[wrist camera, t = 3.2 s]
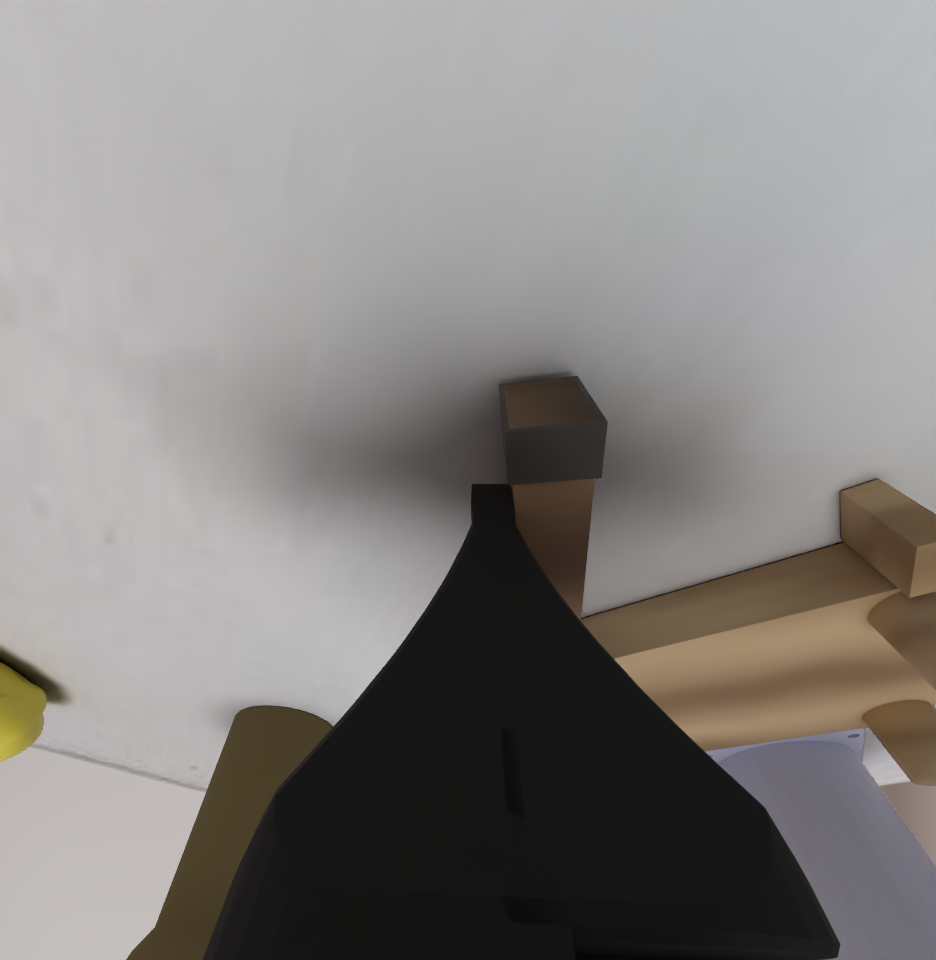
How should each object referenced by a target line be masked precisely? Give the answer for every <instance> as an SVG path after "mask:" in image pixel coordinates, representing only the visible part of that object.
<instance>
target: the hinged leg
mask: <svg viewBox="0 0 936 960" xmlns="http://www.w3.org/2000/svg"><path fill="white" fill-rule="evenodd" d="M499 392H500V404H501V417H502V430H503V440H504V450H505V459H506V469H507V479H508V486H510V485H511V489H512V493H513V499H514V522H515V524H516V526H517V528H518V530H519V532H520V533H521V535H522V537H523V539H524V540H525V542H526V544H527V546H528V547H529V549H530V551H531V552H532V554H533V556H534V557H535V559H536V560H537V562H538V563H539V565H540V566H541V568H542V569H543V571H544V572H545V574H546V575H547V577H548V578H549V580H550V581H551V583H552V584H553V585H554V587H555V588H556V590H557V591H558V592H559V594H560V595H561V596H562V598H563V599H564V600H565V602H566V603H567V604H568V605H569V607H570V608H571V609H572V611H573V612H574V613H575V615H576V616H577V617H578V618H579V619H580V621H581V613H582V602H583V592H584V581H585V571H586V560H587V550H588V540H589V529H590V519H591V508H592V498H593V487H594V479H595V478H601V476H602V467H603V458H604V449H605V440H606V430H607V420H606V419H605V417H604V416H603V414H602V413H601V411H600V410H599V408H598V407H597V405H596V404H595V402H594V401H593V399H592V398H591V396H590V395H589V393H588V392H587V390H586V388H585V387H584V385H583V384H582V382H581V381H580V379H579V378H578V376H571V377H562V378H553V379H544V380H535V381H526V382H517V383H508V384H499Z"/></svg>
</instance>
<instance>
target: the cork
mask: <svg viewBox="0 0 936 960" xmlns="http://www.w3.org/2000/svg"><path fill="white" fill-rule="evenodd" d="M332 728H333V727H332V726H331V725H330V724H329V723H328V722H327V721H325V720H323V719H321V718H319V717H317V716H315V715H312V714H310V713H307V712H304V711H301V710H296V709H291V708H286V707H276V706H258V707H250V708H247V709H244V710H241V711H240V712H239V713H238V714H237V715H236V716H235V718H234V721H233V723H232V726H231V729H230V731H229V734H228V737H227V739H226V742H225V744H224V747H223V750H222V752H221V755H220V758H219V760H218V763H217V765H216V768H215V771H214V773H213V776H212V779H211V781H210V784H209V787H208V789H207V792H206V795H205V797H204V800H203V803H202V805H201V808H200V810H199V813H198V816H197V818H196V821H195V823H194V826H193V829H192V831H191V834H190V837H189V839H188V842H187V844H186V847H185V850H184V852H183V855H182V858H181V861H180V863H179V865H178V868H177V871H176V873H175V876H174V879H173V881H172V884H171V887H170V889H169V892H168V895H167V897H166V900H165V902H164V905H163V908H162V910H161V913H160V915H159V918H158V921H157V923H156V926H155V928H154V929H153V930H152V931H151V932H150V933H149V934H148V935H147V936H146V937H145V938H144V939H143V940H142V941H141V942H140V943H139V944H138V946H136V948H135V949H134V950H133V951H132V952H131V954H130V955H129V956H128V958H127V959H126V960H203V957H204V955H205V952H206V949H207V947H208V944H209V941H210V939H211V936H212V933H213V931H214V928H215V926H216V923H217V920H218V918H219V915H220V912H221V910H222V907H223V904H224V902H225V899H226V896H227V894H228V891H229V888H230V886H231V883H232V880H233V878H234V876H235V873H236V871H237V868H238V866H239V864H240V862H241V860H242V858H243V856H244V854H245V852H246V849H247V847H248V845H249V843H250V841H251V839H252V836H253V834H254V832H255V830H256V828H257V826H258V824H259V822H260V820H261V818H262V816H263V814H264V812H265V810H266V808H267V807H268V805H269V803H270V801H271V799H272V797H273V795H274V794H275V792H276V790H277V789H278V788H279V786H280V785H281V784H282V783H283V782H284V781H285V779H286V778H287V777H288V776H289V775H290V774H291V773H292V772H293V771H294V770H295V769H296V767H297V766H298V765H299V764H300V763H301V762H302V761H303V760H304V759H305V758H306V756H307V755H308V754H309V753H310V752H311V751H312V750H313V749H314V748H315V747H316V745H317V744H318V743H319V742H320V741H321V740H322V739H323V738H324V737H325V736H326V734H327V733H328V732H329V731H330V730H331V729H332Z"/></svg>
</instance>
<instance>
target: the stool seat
mask: <svg viewBox="0 0 936 960" xmlns="http://www.w3.org/2000/svg"><path fill="white" fill-rule="evenodd" d="M840 499H841V540H842V541H844V543H840V544H837V545H833V546H830V547H826V548H823V549H820V550H816V551H813V552H809V553H806V554H802V555H799V556H796V557H792V558H789V559H785V560H782V561H778V562H775V563H772V564H768V565H765V566H761V567H758V568H754V569H751V570H747V571H744V572H741V573H737V574H734V575H730V576H727V577H723V578H720V579H717V580H713V581H710V582H706V583H703V584H699V585H696V586H693V587H689V588H686V589H682V590H679V591H675V592H672V593H669V594H665V595H662V596H658V597H655V598H651V599H648V600H645V601H641V602H638V603H634V604H631V605H627V606H624V607H621V608H617V609H614V610H610V611H607V612H603V613H600V614H597V615H593V616H590V617H586V618H583V619H581V622H582V623H583V624H584V625H585V627H586V628H587V629H588V630H589V631H590V633H591V634H592V635H593V636H594V637H595V639H596V640H597V641H598V642H599V643H600V644H601V645H602V646H603V648H604V649H605V650H606V651H607V652H608V653H609V654H610V655H611V656H612V657H613V658H614V660H615V661H616V662H617V663H618V664H619V665H620V666H621V667H622V668H623V669H624V670H625V672H626V673H627V674H628V675H629V676H630V677H631V678H632V679H633V680H634V681H635V682H636V684H637V685H638V686H639V687H640V688H641V689H642V690H643V691H644V692H645V693H646V694H647V695H648V696H649V697H650V698H651V699H652V700H653V701H654V702H655V703H656V704H657V705H658V706H659V707H660V708H661V709H662V710H663V711H664V712H665V713H666V714H667V715H668V716H669V717H670V718H671V719H672V720H673V721H674V722H675V723H676V724H677V725H678V726H679V727H680V728H681V729H682V730H683V731H684V732H685V733H686V734H687V735H688V736H689V737H690V738H691V739H692V740H693V741H694V742H695V743H697V744H698V745H699V746H700V747H701V748H702V749H703V750H704V751H712V750H718V749H725V748H732V747H739V746H746V745H752V744H759V743H766V742H773V741H779V740H786V739H793V738H800V737H807V736H813V735H820V734H827V733H834V732H841V731H847V730H854V729H861V728H868V727H869V728H870V729H871V730H872V732H873V733H874V734H875V736H876V737H877V738H878V739H879V741H880V742H881V743H882V745H883V746H884V747H885V748H886V750H887V751H888V752H889V754H890V755H891V756H892V757H893V759H894V760H895V761H896V762H897V764H898V765H899V766H900V768H901V769H902V770H903V771H904V773H905V774H906V775H907V777H908V778H909V779H910V780H911V782H912V783H914V784H918V785H926V786H936V709H935V708H934V706H935V703H936V514H934V513H933V512H931V511H929V510H928V509H926V508H925V507H923V506H921V505H920V504H918V503H917V502H915V501H913V500H912V499H910V498H909V497H907V496H905V495H904V494H902V493H901V492H899V491H897V490H896V489H894V488H893V487H891V486H889V485H888V484H886V483H885V482H883V481H881V480H880V479H877V480H874V481H871V482H868V483H865V484H862V485H859V486H856V487H853V488H850V489H847V490H843V491H840Z"/></svg>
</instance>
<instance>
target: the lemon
mask: <svg viewBox="0 0 936 960" xmlns="http://www.w3.org/2000/svg"><path fill="white" fill-rule="evenodd" d="M46 703H47V698H46V694H45V692H44V691H43V690H42V689H41V688H40V687H38V686H36V685H34V684H32V683H30V682H29V681H28V680H27V679H26V678H24V677H23V676H22V675H21V674H19V673H18V672H16V671H14V670H13V669H11V668H10V667H8V666H7V665H5V664H3V663H1V662H0V761H3V760H6V759H8V758H11V757H13V756H15V755H17V754H19V753H21V752H22V751H24V750H25V749H27V748H28V747H29V746H31V745H32V744H33V743H34V742H35V741H36V740H37V738H38V737H39V736H40V734H41V732H42V730H43V726H44V717H43V712H44V710H45V707H46Z"/></svg>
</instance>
